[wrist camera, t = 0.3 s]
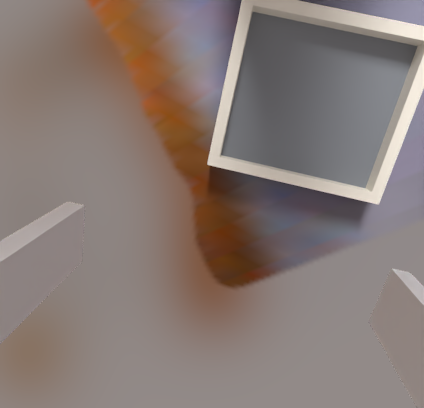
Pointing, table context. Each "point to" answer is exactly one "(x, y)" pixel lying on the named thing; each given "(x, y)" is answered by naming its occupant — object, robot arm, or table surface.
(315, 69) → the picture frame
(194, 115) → the table surface
